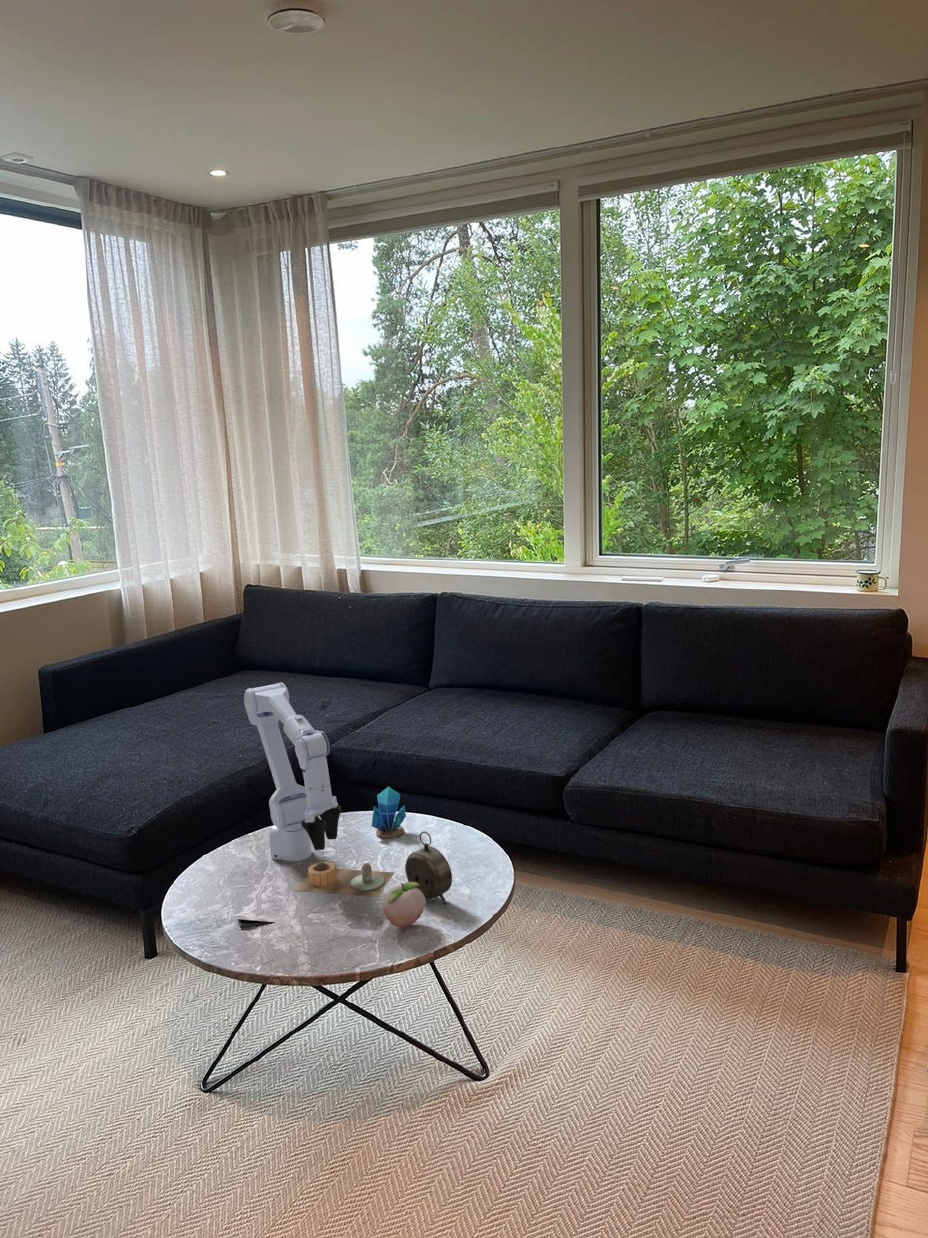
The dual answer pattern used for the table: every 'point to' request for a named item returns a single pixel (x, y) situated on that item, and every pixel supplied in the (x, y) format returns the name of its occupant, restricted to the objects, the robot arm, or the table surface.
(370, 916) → the table surface
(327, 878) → the ring
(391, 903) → the decorative fruit
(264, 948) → the table surface
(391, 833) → the gemstone
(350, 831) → the table surface
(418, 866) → the alarm clock
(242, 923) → the black wedge
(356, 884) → the stand board
